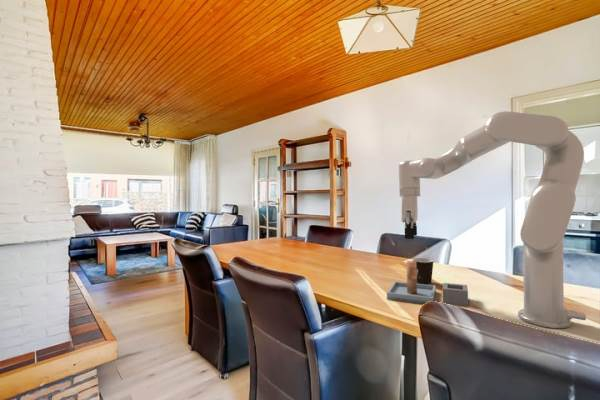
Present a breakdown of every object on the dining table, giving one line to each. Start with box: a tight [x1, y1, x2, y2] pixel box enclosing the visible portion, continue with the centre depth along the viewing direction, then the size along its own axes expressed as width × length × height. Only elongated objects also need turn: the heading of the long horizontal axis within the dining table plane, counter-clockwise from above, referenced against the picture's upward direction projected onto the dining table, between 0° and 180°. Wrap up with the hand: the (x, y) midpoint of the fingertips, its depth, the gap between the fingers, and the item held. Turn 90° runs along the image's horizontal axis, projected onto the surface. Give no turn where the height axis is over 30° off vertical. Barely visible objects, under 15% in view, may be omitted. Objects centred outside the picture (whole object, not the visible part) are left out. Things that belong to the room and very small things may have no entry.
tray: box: [386, 281, 437, 305], centre depth 119 cm, size 16×16×2 cm
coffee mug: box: [412, 257, 434, 285], centre depth 137 cm, size 12×9×10 cm
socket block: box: [442, 282, 469, 306], centre depth 112 cm, size 8×8×5 cm
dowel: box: [406, 260, 417, 294], centre depth 119 cm, size 4×4×12 cm
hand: (411, 237), depth 119 cm, fingers open, 9 cm apart
